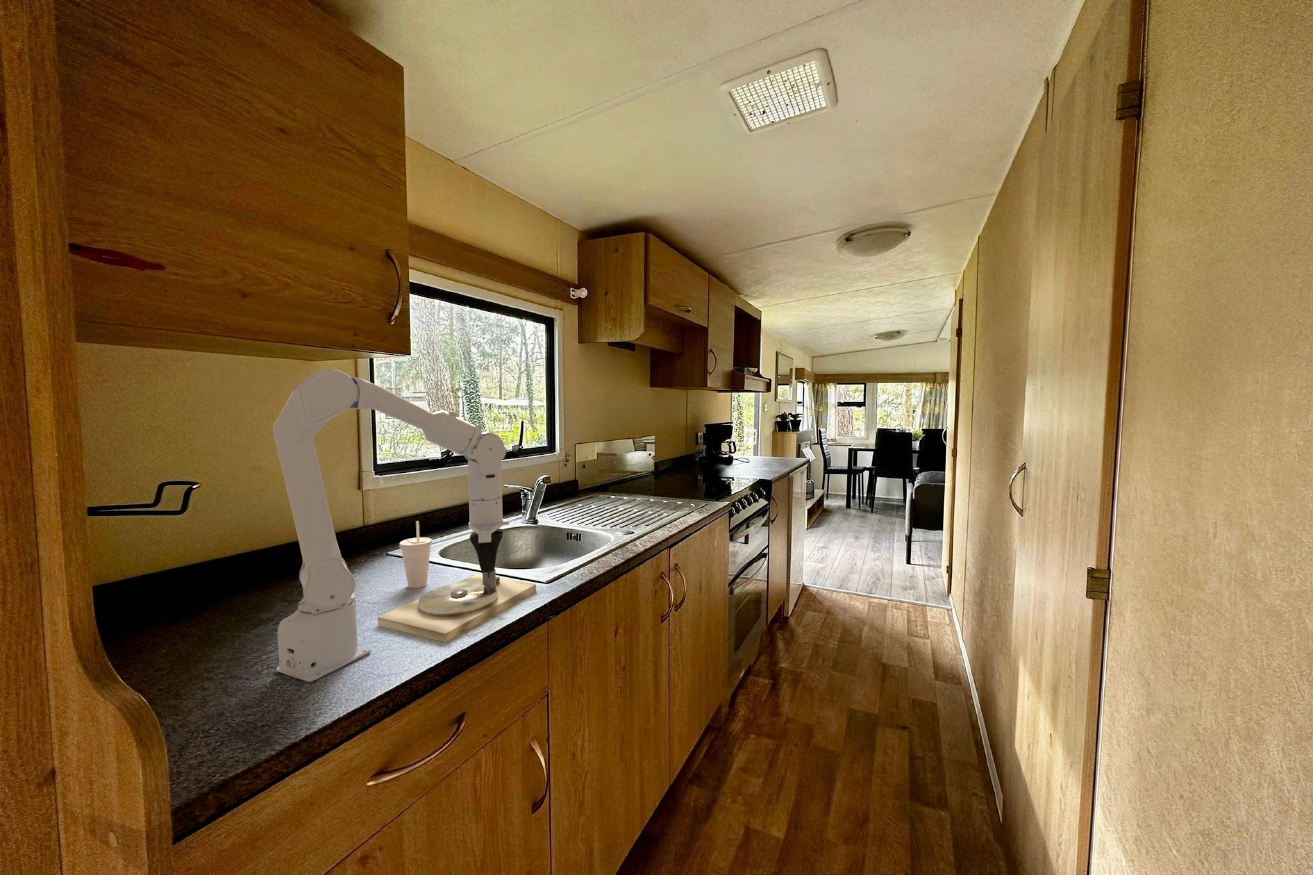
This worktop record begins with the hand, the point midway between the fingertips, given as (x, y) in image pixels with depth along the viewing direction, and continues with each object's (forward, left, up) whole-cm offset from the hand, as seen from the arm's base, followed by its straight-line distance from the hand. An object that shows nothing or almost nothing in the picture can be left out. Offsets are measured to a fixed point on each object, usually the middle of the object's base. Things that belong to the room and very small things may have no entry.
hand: (487, 570), depth 90 cm
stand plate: (0, +7, -9) cm, 11 cm away
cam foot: (0, +7, -7) cm, 10 cm away
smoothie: (+6, +25, -9) cm, 28 cm away
